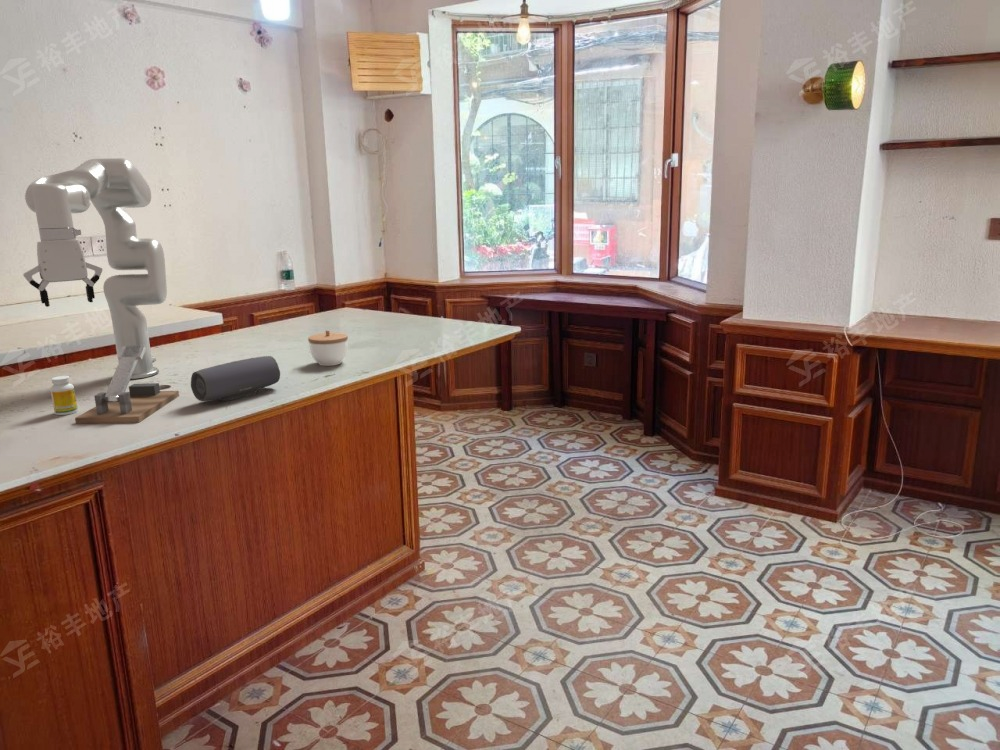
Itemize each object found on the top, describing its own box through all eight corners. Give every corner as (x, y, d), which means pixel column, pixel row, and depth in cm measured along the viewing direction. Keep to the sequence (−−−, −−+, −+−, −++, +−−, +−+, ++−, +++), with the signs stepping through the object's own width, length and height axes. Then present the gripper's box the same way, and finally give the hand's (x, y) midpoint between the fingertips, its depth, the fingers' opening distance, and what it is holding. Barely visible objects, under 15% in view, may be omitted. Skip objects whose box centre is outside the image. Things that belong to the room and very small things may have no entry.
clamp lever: (124, 349, 200) (121, 345, 199) (146, 349, 200) (144, 345, 199) (101, 404, 188) (98, 400, 186) (124, 403, 188) (122, 399, 186)
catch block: (135, 393, 206) (133, 383, 206) (160, 392, 206) (158, 383, 206) (130, 396, 203) (128, 386, 203) (155, 395, 203) (154, 386, 203)
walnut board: (122, 397, 208) (119, 374, 207) (179, 395, 208) (176, 373, 207) (75, 423, 185) (71, 398, 183) (139, 422, 185) (135, 397, 183)
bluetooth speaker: (264, 385, 218) (260, 352, 215) (282, 389, 212) (279, 356, 210) (191, 403, 201) (187, 367, 199) (209, 408, 195) (205, 372, 193)
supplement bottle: (51, 413, 194) (45, 377, 192) (74, 408, 198) (68, 373, 196) (58, 417, 191) (52, 381, 188) (81, 412, 195) (75, 377, 192)
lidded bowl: (340, 368, 236) (337, 334, 233) (303, 367, 238) (300, 334, 236) (355, 359, 248) (353, 327, 245) (320, 358, 250) (317, 326, 248)
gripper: (93, 232, 190) (104, 298, 195) (14, 236, 180) (27, 306, 185) (99, 234, 185) (109, 301, 189) (18, 238, 174) (31, 309, 179)
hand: (69, 303), depth 187 cm, fingers open, 9 cm apart
